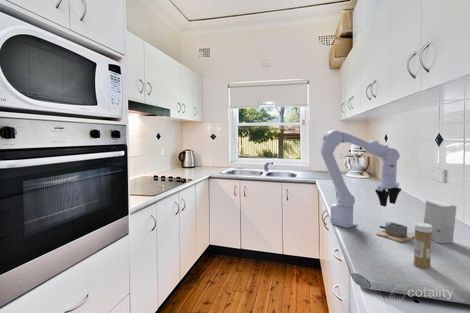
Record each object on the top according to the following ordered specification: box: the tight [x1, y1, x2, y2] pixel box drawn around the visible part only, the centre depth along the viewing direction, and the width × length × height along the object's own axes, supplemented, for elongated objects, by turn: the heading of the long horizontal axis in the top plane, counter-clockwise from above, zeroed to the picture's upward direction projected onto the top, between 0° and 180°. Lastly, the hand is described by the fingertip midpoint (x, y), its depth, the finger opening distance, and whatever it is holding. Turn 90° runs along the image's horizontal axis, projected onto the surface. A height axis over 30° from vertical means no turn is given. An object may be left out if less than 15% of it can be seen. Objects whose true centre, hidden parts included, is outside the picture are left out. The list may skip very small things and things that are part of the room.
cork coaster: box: [376, 229, 415, 244], centre depth 106 cm, size 10×10×1 cm
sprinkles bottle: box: [413, 221, 432, 270], centre depth 82 cm, size 5×5×13 cm
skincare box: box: [423, 199, 457, 244], centre depth 101 cm, size 8×6×15 cm
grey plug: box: [379, 221, 408, 238], centre depth 107 cm, size 10×4×4 cm, turn 32°
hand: (387, 204), depth 117 cm, fingers open, 7 cm apart
